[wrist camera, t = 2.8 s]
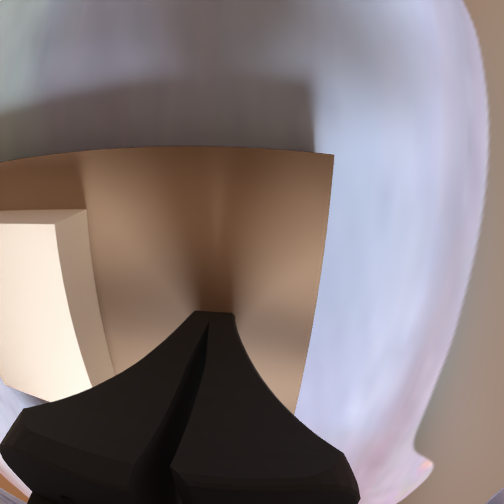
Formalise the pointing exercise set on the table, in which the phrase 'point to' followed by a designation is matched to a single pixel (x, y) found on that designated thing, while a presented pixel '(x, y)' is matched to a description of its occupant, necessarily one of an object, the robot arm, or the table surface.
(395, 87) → the table surface
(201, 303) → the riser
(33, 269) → the tile
